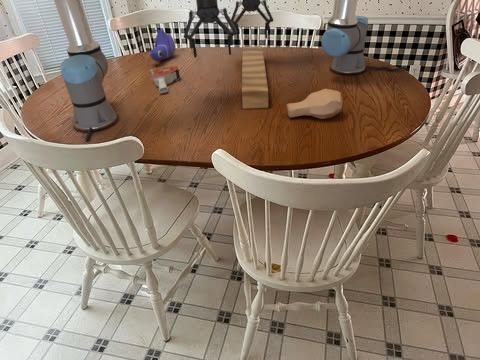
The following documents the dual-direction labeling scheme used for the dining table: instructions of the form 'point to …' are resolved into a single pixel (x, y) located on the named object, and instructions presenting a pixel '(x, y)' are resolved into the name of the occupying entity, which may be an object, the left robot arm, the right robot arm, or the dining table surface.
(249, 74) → the slab
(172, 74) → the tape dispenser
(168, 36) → the toy
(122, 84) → the dining table surface
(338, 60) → the right robot arm
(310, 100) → the squash
